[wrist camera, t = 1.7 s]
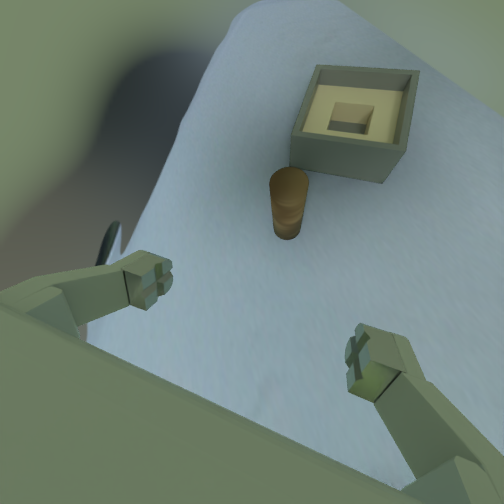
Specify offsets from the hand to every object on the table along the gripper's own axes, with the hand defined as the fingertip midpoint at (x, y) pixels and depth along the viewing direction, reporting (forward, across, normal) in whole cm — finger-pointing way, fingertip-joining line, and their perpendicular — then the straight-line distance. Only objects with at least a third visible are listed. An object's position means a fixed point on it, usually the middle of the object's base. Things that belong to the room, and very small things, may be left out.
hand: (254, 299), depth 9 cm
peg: (+26, +2, +6) cm, 27 cm away
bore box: (+40, -4, -8) cm, 41 cm away
